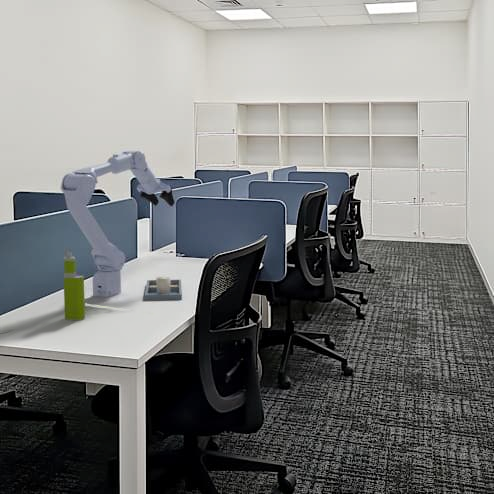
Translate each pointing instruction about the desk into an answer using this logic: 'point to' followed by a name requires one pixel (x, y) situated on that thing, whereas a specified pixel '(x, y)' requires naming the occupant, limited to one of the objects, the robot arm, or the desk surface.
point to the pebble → (163, 285)
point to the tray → (152, 294)
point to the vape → (73, 290)
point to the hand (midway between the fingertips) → (164, 204)
